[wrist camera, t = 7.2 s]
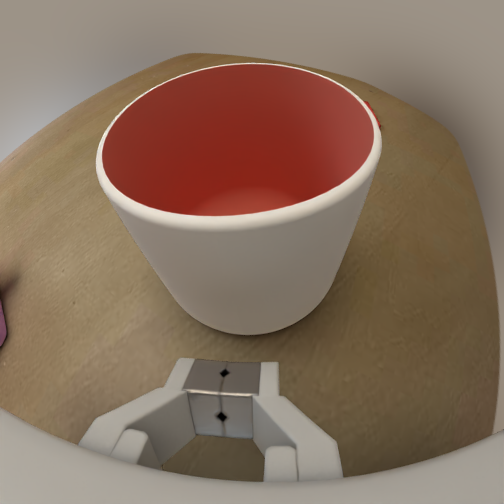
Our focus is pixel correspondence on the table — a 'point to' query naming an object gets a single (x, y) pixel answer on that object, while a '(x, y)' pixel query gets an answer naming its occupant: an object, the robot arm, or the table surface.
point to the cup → (242, 188)
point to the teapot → (2, 326)
